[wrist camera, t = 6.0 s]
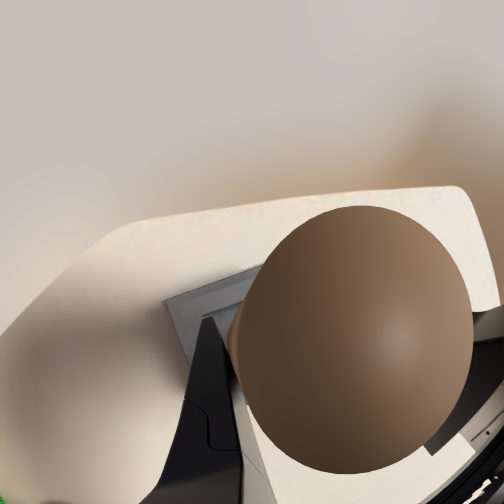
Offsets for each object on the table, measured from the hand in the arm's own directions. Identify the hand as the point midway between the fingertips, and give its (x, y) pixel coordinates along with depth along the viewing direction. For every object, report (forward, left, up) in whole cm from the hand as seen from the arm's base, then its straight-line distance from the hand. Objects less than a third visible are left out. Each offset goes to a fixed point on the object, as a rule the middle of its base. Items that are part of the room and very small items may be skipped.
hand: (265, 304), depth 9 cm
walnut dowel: (-1, -1, -7) cm, 7 cm away
